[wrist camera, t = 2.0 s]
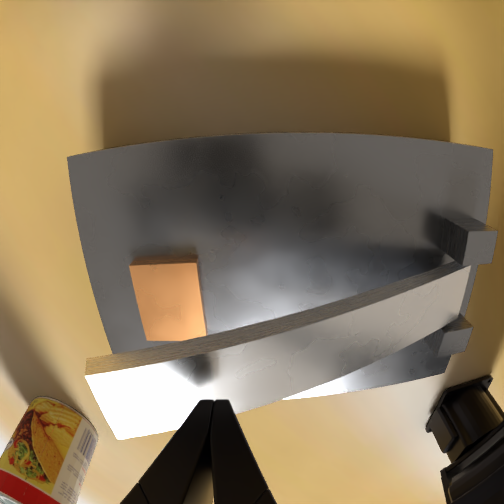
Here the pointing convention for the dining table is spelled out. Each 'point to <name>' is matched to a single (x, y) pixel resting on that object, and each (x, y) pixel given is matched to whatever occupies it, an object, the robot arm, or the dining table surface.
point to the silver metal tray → (277, 234)
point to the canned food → (47, 455)
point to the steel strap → (272, 354)
